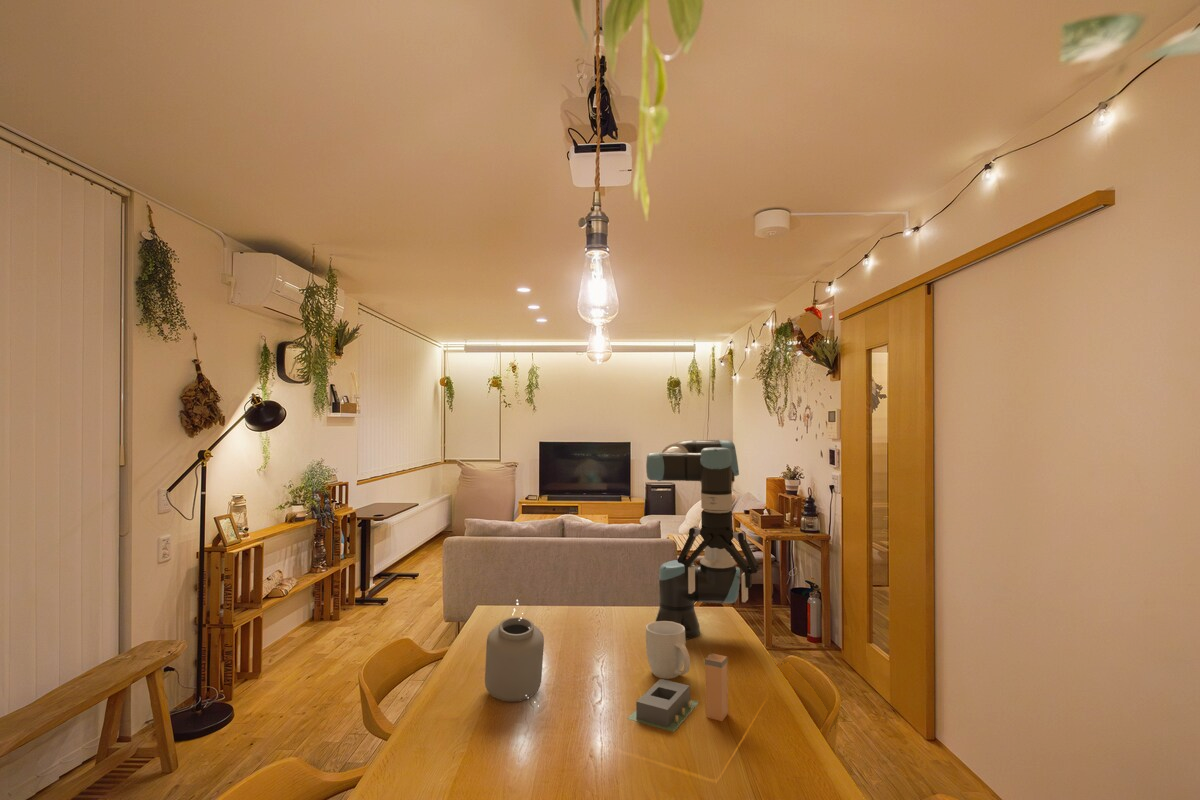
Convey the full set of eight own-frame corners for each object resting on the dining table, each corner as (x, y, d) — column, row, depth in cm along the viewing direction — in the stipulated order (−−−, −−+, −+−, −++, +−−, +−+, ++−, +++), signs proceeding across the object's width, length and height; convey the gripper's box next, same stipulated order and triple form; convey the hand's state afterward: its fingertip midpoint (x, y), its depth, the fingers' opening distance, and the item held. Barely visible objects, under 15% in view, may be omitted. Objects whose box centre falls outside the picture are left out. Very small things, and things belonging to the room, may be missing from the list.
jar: (553, 706, 143) (553, 604, 144) (495, 718, 137) (495, 612, 138) (532, 676, 161) (532, 585, 162) (479, 685, 155) (480, 591, 156)
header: (655, 693, 150) (654, 675, 150) (698, 704, 144) (698, 685, 144) (626, 720, 136) (626, 701, 136) (674, 734, 130) (673, 713, 130)
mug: (703, 682, 156) (703, 633, 157) (672, 693, 150) (672, 642, 151) (668, 663, 168) (667, 618, 169) (638, 672, 162) (637, 625, 163)
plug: (711, 711, 140) (710, 653, 141) (727, 715, 138) (727, 656, 139) (705, 719, 137) (705, 659, 137) (722, 723, 135) (721, 662, 135)
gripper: (664, 508, 146) (665, 592, 145) (763, 516, 133) (764, 609, 133) (675, 504, 152) (676, 584, 152) (771, 511, 139) (772, 599, 139)
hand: (717, 596), depth 142 cm, fingers open, 13 cm apart
